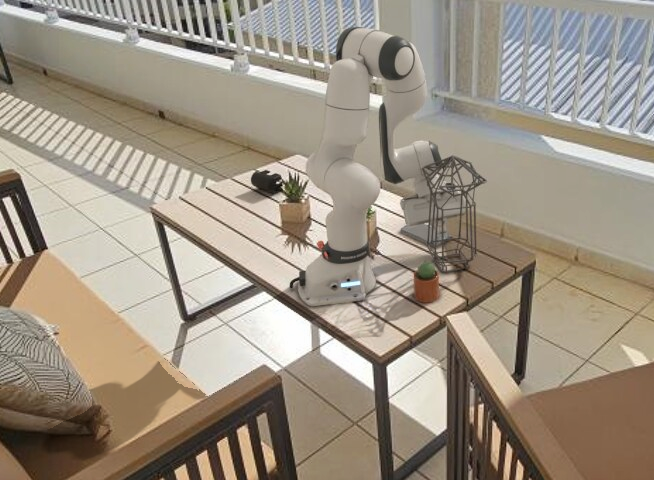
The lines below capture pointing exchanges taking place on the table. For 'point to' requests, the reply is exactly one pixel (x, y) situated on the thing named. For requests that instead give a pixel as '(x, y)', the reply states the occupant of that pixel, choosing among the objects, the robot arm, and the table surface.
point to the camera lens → (267, 181)
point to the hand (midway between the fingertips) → (442, 233)
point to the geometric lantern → (463, 192)
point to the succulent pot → (426, 283)
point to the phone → (423, 233)
